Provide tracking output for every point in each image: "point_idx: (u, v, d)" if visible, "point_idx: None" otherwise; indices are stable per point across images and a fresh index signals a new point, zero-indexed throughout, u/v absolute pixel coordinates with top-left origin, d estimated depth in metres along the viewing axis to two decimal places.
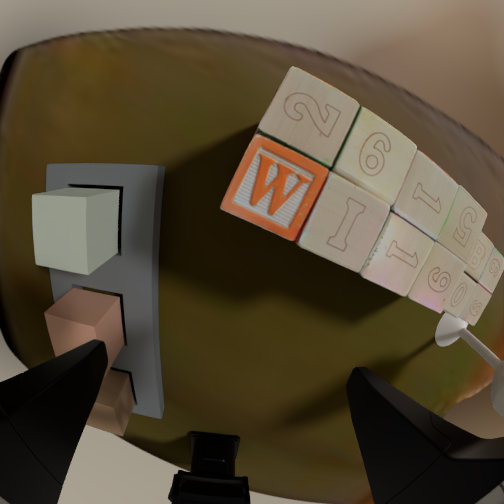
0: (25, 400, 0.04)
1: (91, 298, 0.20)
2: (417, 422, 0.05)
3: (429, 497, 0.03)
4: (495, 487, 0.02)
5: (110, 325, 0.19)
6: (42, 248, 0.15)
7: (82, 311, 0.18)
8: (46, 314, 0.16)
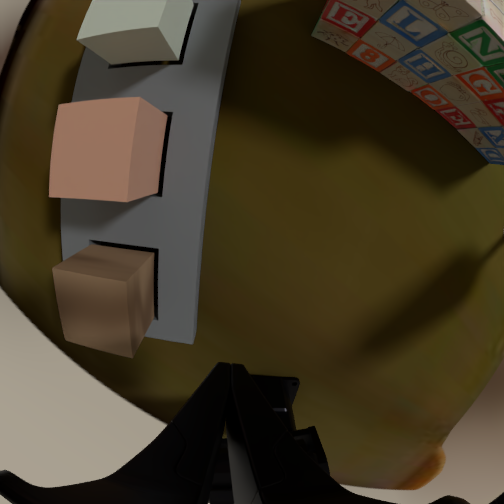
0: (197, 454, 0.04)
1: None
2: (254, 440, 0.05)
3: None
4: None
5: (152, 133, 0.13)
6: (95, 18, 0.08)
7: None
8: (61, 105, 0.10)
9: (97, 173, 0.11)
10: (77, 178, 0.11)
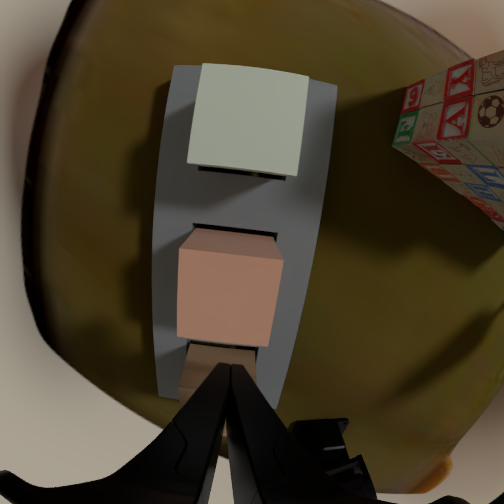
0: (197, 454, 0.04)
1: (237, 237, 0.17)
2: (253, 440, 0.05)
3: None
4: None
5: None
6: (210, 137, 0.11)
7: (243, 247, 0.14)
8: (183, 250, 0.13)
9: (238, 324, 0.14)
10: (213, 326, 0.14)
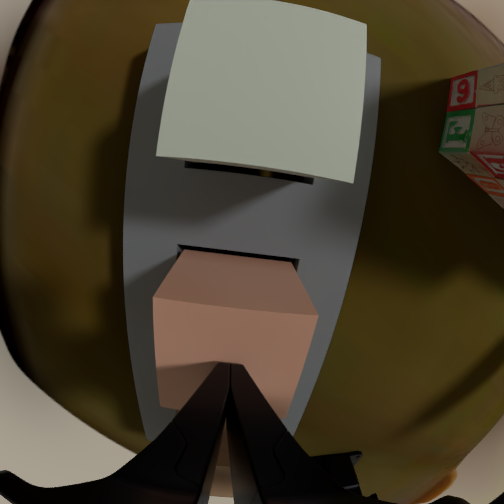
0: (197, 454, 0.04)
1: (242, 265, 0.11)
2: (253, 440, 0.05)
3: None
4: None
5: None
6: (198, 108, 0.06)
7: (253, 288, 0.09)
8: (160, 301, 0.08)
9: None
10: None
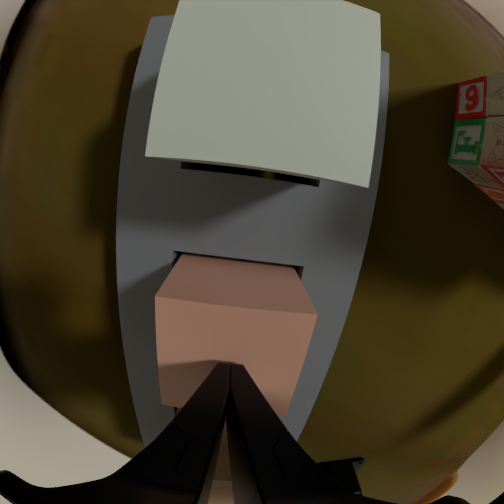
0: (198, 454, 0.04)
1: (242, 265, 0.12)
2: (253, 440, 0.05)
3: None
4: None
5: None
6: (193, 101, 0.05)
7: (254, 288, 0.10)
8: (162, 300, 0.08)
9: None
10: None
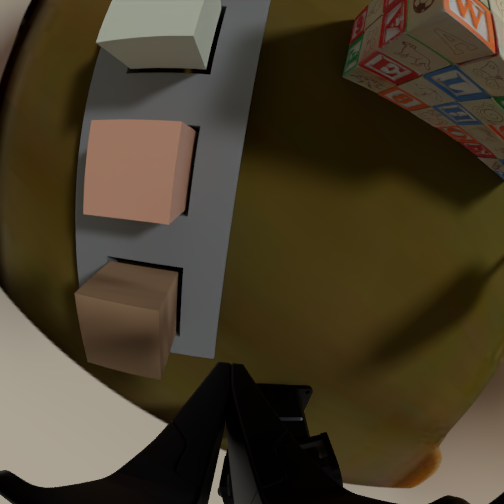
0: (197, 454, 0.04)
1: None
2: (253, 440, 0.05)
3: None
4: None
5: (187, 154, 0.14)
6: (118, 19, 0.08)
7: None
8: (94, 121, 0.11)
9: (138, 194, 0.12)
10: (115, 198, 0.12)
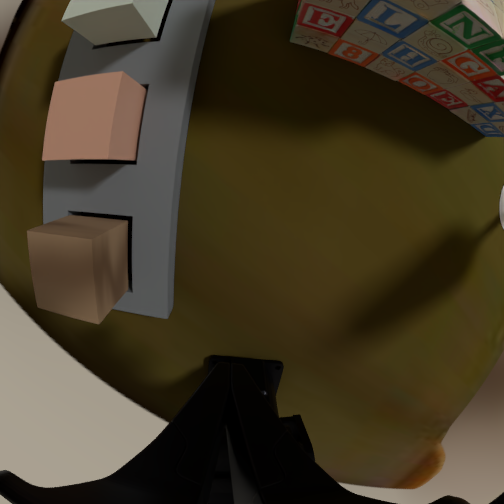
0: (197, 454, 0.04)
1: None
2: (254, 440, 0.05)
3: None
4: None
5: (134, 105, 0.14)
6: (79, 1, 0.08)
7: None
8: (57, 82, 0.11)
9: (84, 136, 0.12)
10: (67, 142, 0.12)
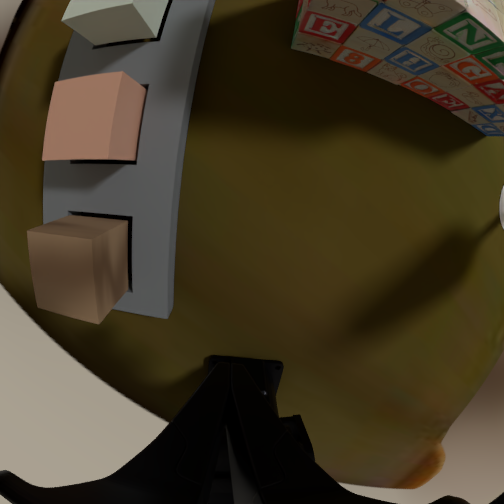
0: (197, 454, 0.04)
1: None
2: (253, 440, 0.05)
3: None
4: None
5: (134, 105, 0.14)
6: (79, 1, 0.08)
7: None
8: (57, 82, 0.11)
9: (84, 136, 0.12)
10: (66, 142, 0.12)
